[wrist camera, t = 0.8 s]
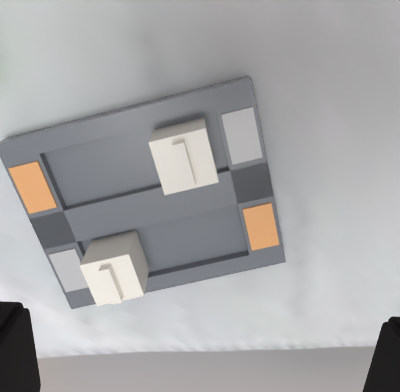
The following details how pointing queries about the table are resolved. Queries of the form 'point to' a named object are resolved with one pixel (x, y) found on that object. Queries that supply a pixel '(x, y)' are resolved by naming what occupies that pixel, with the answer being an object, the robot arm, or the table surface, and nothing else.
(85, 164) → the switch board
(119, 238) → the tab
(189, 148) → the tab
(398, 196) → the table surface
